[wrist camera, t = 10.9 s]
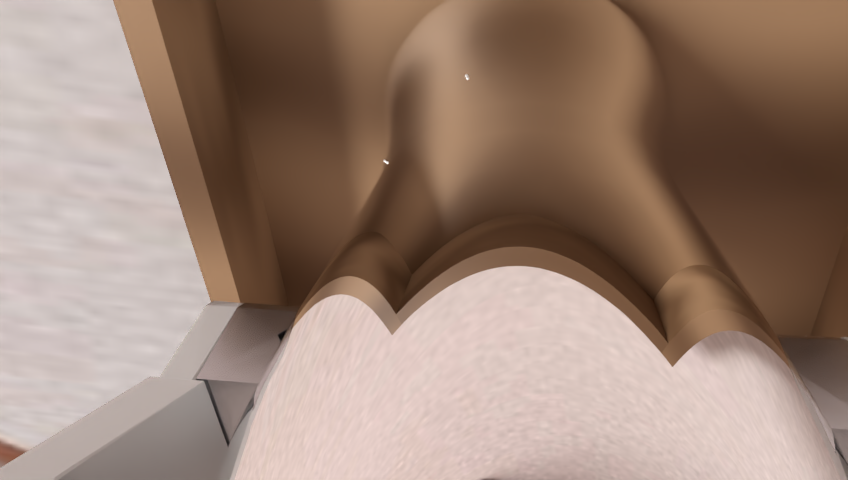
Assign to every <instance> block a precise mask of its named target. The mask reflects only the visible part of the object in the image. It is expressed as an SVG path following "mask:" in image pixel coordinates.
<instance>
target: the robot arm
mask: <svg viewBox="0 0 848 480" xmlns="http://www.w3.org/2000/svg"><path fill="white" fill-rule="evenodd" d="M299 308H300V307H293V306H281V305H269V304H256V303H235V302H224V301H213V302H211V303H209V304H207V305H206V306H205V307H204V309H203V310H202V312H201V313H200V315H199V317H198V318H197V320H196V321H195V323H194V324H193V326H192V327H191V329H190V330H189V332H188V334H187V335H186V337H185V338H184V340H183V341H182V343H181V344H180V346H179V348H178V349H177V351H176V352H175V354H174V355H173V357H172V358H171V360H170V361H169V363H168V365H167V366H166V368H165V369H164V371H163V372H162V374H161V375H160V377H149V378H147V379H145V380H144V381H142V382H140V383H139V384H137V385H136V386H134V387H132V388H131V389H129V390H127V391H126V392H124V393H122V394H121V395H119V396H117V397H116V398H114V399H113V400H111V401H109V402H108V403H106V404H104V405H103V406H101V407H99V408H98V409H96V410H94V411H93V412H91V413H90V414H88V415H86V416H85V417H83V418H81V419H80V420H78V421H76V422H75V423H73V424H72V425H70V426H68V427H67V428H65V429H63V430H62V431H60V432H58V433H57V434H55V435H53V436H52V437H50V438H49V439H47V440H45V441H44V442H42V443H40V444H39V445H37V446H35V447H34V448H32V449H30V450H29V451H27V452H26V453H24V454H22V455H21V456H19V457H17V458H16V459H14V460H12V461H11V462H9V463H8V464H6V465H4V466H3V467H1V468H0V480H215V478H216V475H217V473H218V471H219V468H220V466H221V463H222V461H223V458H224V456H225V454H226V451H227V449H228V446H229V444H230V441H231V439H232V437H233V434H234V432H235V429H236V427H237V424H238V422H239V420H240V418H241V416H242V414H243V412H244V410H245V408H246V406H247V404H248V402H249V400H250V399H251V397H252V395H253V393H254V391H255V389H256V387H257V385H258V383H259V382H260V380H261V378H262V376H263V374H264V372H265V370H266V368H267V366H268V364H269V363H270V361H271V359H272V357H273V355H274V353H275V351H276V349H277V347H278V346H279V344H280V342H281V340H282V338H283V336H284V334H285V332H286V330H287V329H288V327H289V325H290V323H291V322H292V320H293V318H294V317H295V315H296V313H297V312H298V310H299ZM777 336H778V338H779V339H780V341H781V343H782V345H783V346H784V348H785V350H786V352H787V353H788V355H789V357H790V358H791V360H792V362H793V364H794V365H795V367H796V369H797V371H798V372H799V374H800V376H801V377H802V379H803V381H804V383H805V384H806V386H807V388H808V390H809V391H810V393H811V395H812V396H813V398H814V400H815V402H816V403H817V405H818V407H819V409H820V410H821V412H822V414H823V415H824V417H825V419H826V421H827V422H828V424H829V426H830V428H831V429H832V431H833V433H834V435H835V436H836V438H837V440H838V442H839V444H840V446H841V448H842V451H843V453H844V455H845V457H846V459H847V461H848V337H841V338H838V337H823V336H803V335H783V334H777Z"/></svg>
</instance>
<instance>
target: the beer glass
mask: <svg viewBox="0 0 848 480" xmlns="http://www.w3.org/2000/svg"><path fill="white" fill-rule="evenodd" d="M383 117H384V134H385V145H386V155H385V159H384V160H383V162H384V164H383V166H382V169H381V172H380V174H379V177H378V179H377V182H376V184H375V186H374V187H373V189H372V191H371V193H370V194H369V196H368V198H367V200H366V201H365V203H364V205H363V207H362V208H361V210H360V212H359V213H358V215H357V216H356V218H355V220H354V221H353V223H352V224H351V226H350V227H349V229H348V231H347V232H346V234H345V235H344V237H343V238H342V240H341V242H340V243H339V245H338V246H337V248H336V249H335V251H334V253H333V254H332V256H331V257H330V259H329V261H328V262H327V264H326V266H325V267H324V269H323V270H322V272H321V274H320V275H319V277H318V279H317V280H316V282H315V284H314V285H313V287H312V289H311V290H310V292H309V293H308V295H307V297H306V298H305V300H304V302H303V303H302V305H301V307H300V308H299V310H298V312H297V313H296V315H295V317H294V318H293V320H292V322H291V323H290V325H289V327H288V329H287V330H286V332H285V334H284V336H283V338H282V340H281V342H280V344H279V346H278V347H277V349H276V351H275V353H274V355H273V357H272V359H271V361H270V363H269V364H268V366H267V368H266V370H265V372H264V374H263V376H262V378H261V380H260V382H259V383H258V385H257V387H256V389H255V391H254V393H253V395H252V397H251V399H250V400H249V402H248V404H247V406H246V408H245V410H244V412H243V414H242V416H241V418H240V420H239V422H238V424H237V427H236V429H235V432H234V434H233V437H232V439H231V441H230V444H229V446H228V449H227V451H226V454H225V456H224V458H223V461H222V463H221V466H220V468H219V471H218V473H217V475H216V478H215V480H848V461H847V459H846V457H845V455H844V453H843V451H842V448H841V446H840V444H839V442H838V440H837V438H836V436H835V435H834V433H833V431H832V429H831V428H830V426H829V424H828V422H827V421H826V419H825V417H824V415H823V414H822V412H821V410H820V409H819V407H818V405H817V403H816V402H815V400H814V398H813V396H812V395H811V393H810V391H809V390H808V388H807V386H806V384H805V383H804V381H803V379H802V377H801V376H800V374H799V372H798V371H797V369H796V367H795V365H794V364H793V362H792V360H791V358H790V357H789V355H788V353H787V352H786V350H785V348H784V346H783V345H782V343H781V341H780V339H779V338H778V336H777V334H776V333H775V331H774V330H773V328H772V326H771V325H770V323H769V322H768V320H767V319H766V317H765V316H764V314H763V313H762V311H761V310H760V308H759V307H758V305H757V304H756V302H755V301H754V299H753V298H752V296H751V295H750V293H749V292H748V290H747V289H746V287H745V286H744V284H743V283H742V281H741V280H740V278H739V277H738V275H737V274H736V272H735V271H734V269H733V268H732V266H731V265H730V263H729V262H728V260H727V259H726V257H725V256H724V254H723V253H722V251H721V250H720V248H719V247H718V246H717V244H716V243H715V241H714V240H713V238H712V237H711V235H710V234H709V233H708V231H707V230H706V228H705V227H704V225H703V224H702V222H701V221H700V220H699V218H698V217H697V215H696V214H695V212H694V211H693V209H692V208H691V207H690V205H689V203H688V202H687V200H686V199H685V197H684V195H683V194H682V192H681V191H680V189H679V187H678V186H677V184H676V183H675V181H674V179H673V177H672V175H671V172H670V170H669V168H668V165H667V163H666V158H665V153H664V141H665V122H666V98H665V87H664V81H663V77H662V72H661V69H660V65H659V62H658V59H657V57H656V54H655V52H654V50H653V48H652V46H651V44H650V42H649V41H648V39H647V37H646V36H645V34H644V33H643V32H642V30H641V29H640V28H639V26H638V25H637V24H636V23H635V22H634V21H633V20H632V19H631V18H630V17H629V16H628V15H627V14H626V13H625V12H624V11H623V10H622V9H620V8H619V7H618V6H617V5H615V4H614V3H613V2H611V1H610V0H445V1H443V2H442V3H440V4H439V5H438V6H436V7H435V8H434V9H432V10H431V11H430V12H429V13H428V14H427V15H425V16H424V17H423V18H422V19H421V20H420V21H419V22H418V23H417V24H416V26H415V27H414V28H413V29H412V30H411V31H410V33H409V34H408V35H407V37H406V38H405V39H404V41H403V42H402V44H401V45H400V47H399V49H398V50H397V52H396V54H395V56H394V59H393V61H392V63H391V66H390V69H389V72H388V75H387V80H386V85H385V92H384V105H383Z"/></svg>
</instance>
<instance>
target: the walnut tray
mask: <svg viewBox="0 0 848 480" xmlns="http://www.w3.org/2000/svg"><path fill="white" fill-rule="evenodd" d="M113 1H114V4H115V7H116V10H117V13H118V16H119V20H120V23H121V26H122V29H123V32H124V35H125V38H126V41H127V44H128V47H129V50H130V53H131V57H132V60H133V63H134V66H135V69H136V72H137V75H138V78H139V81H140V84H141V87H142V90H143V93H144V97H145V100H146V103H147V106H148V109H149V112H150V115H151V118H152V121H153V124H154V127H155V130H156V133H157V137H158V140H159V143H160V146H161V149H162V152H163V155H164V158H165V161H166V164H167V167H168V170H169V174H170V177H171V180H172V183H173V186H174V189H175V192H176V195H177V198H178V201H179V204H180V207H181V210H182V214H183V217H184V220H185V223H186V226H187V229H188V232H189V235H190V238H191V241H192V244H193V247H194V251H195V254H196V257H197V260H198V263H199V266H200V269H201V272H202V275H203V278H204V281H205V284H206V287H207V291H208V294H209V297H210V300H211V302H213V301H224V302H235V303H256V304H269V305H281V306H293V307H301V305H302V303H303V302H304V300H305V298H306V297H307V295H308V293H309V292H310V290H311V289H312V287H313V285H314V284H315V282H316V280H317V279H318V277H319V275H320V274H321V272H322V270H323V269H324V267H325V266H326V264H327V262H328V261H329V259H330V257H331V256H332V254H333V253H334V251H335V249H336V248H337V246H338V245H339V243H340V242H341V240H342V238H343V237H344V235H345V234H346V232H347V231H348V229H349V227H350V226H351V224H352V223H353V221H354V220H355V218H356V216H357V215H358V213H359V212H360V210H361V208H362V207H363V205H364V203H365V201H366V200H367V198H368V196H369V194H370V193H371V191H372V189H373V187H374V186H375V184H376V182H377V179H378V177H379V174H380V172H381V169H382V166H383V164H384V162H383V160H384V159H385V155H386V145H385V134H384V117H383V105H384V92H385V85H386V80H387V75H388V72H389V69H390V66H391V63H392V61H393V59H394V56H395V54H396V52H397V50H398V49H399V47H400V45H401V44H402V42H403V41H404V39H405V38H406V37H407V35H408V34H409V33H410V31H411V30H412V29H413V28H414V27H415V26H416V24H417V23H418V22H419V21H420V20H421V19H422V18H423V17H424V16H425V15H427V14H428V13H429V12H430V11H431V10H432V9H434V8H435V7H436V6H438V5H439V4H440V3H442V2H443V1H445V0H113ZM610 1H611V2H613V3H614V4H615V5H617V6H618V7H619V8H620V9H622V10H623V11H624V12H625V13H626V14H627V15H628V16H629V17H630V18H631V19H632V20H633V21H634V22H635V23H636V24H637V25H638V26H639V28H640V29H641V30H642V32H643V33H644V34H645V36H646V37H647V39H648V41H649V42H650V44H651V46H652V48H653V50H654V52H655V54H656V57H657V59H658V62H659V65H660V69H661V72H662V77H663V81H664V87H665V98H666V122H665V141H664V153H665V158H666V163H667V165H668V168H669V170H670V172H671V175H672V177H673V179H674V181H675V183H676V184H677V186H678V187H679V189H680V191H681V192H682V194H683V195H684V197H685V199H686V200H687V202H688V203H689V205H690V207H691V208H692V209H693V211H694V212H695V214H696V215H697V217H698V218H699V220H700V221H701V222H702V224H703V225H704V227H705V228H706V230H707V231H708V233H709V234H710V235H711V237H712V238H713V240H714V241H715V243H716V244H717V246H718V247H719V248H720V250H721V251H722V253H723V254H724V256H725V257H726V259H727V260H728V262H729V263H730V265H731V266H732V268H733V269H734V271H735V272H736V274H737V275H738V277H739V278H740V280H741V281H742V283H743V284H744V286H745V287H746V289H747V290H748V292H749V293H750V295H751V296H752V298H753V299H754V301H755V302H756V304H757V305H758V307H759V308H760V310H761V311H762V313H763V314H764V316H765V317H766V319H767V320H768V322H769V323H770V325H771V326H772V328H773V330H774V331H775V333H776V334H783V335H803V336H823V337H838V338H841V337H848V0H610Z"/></svg>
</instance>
